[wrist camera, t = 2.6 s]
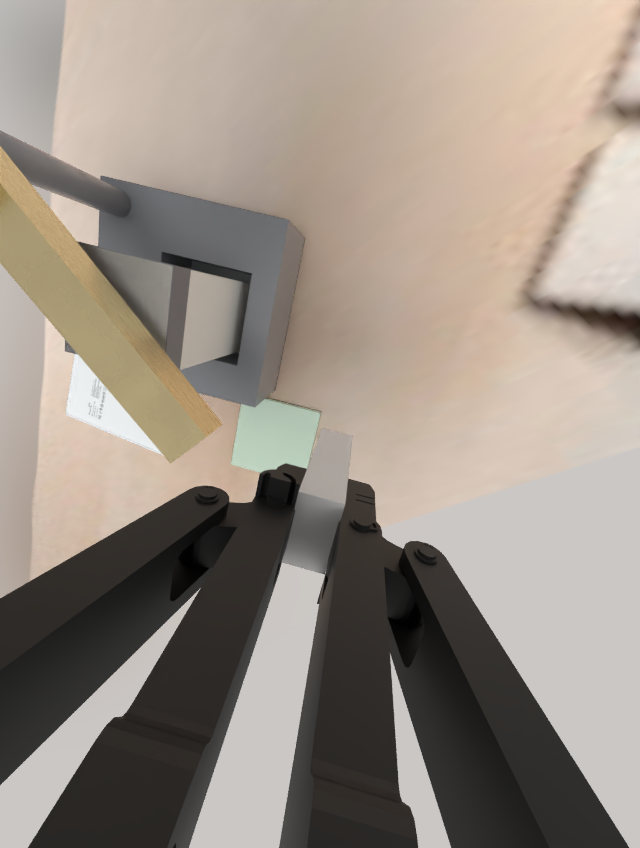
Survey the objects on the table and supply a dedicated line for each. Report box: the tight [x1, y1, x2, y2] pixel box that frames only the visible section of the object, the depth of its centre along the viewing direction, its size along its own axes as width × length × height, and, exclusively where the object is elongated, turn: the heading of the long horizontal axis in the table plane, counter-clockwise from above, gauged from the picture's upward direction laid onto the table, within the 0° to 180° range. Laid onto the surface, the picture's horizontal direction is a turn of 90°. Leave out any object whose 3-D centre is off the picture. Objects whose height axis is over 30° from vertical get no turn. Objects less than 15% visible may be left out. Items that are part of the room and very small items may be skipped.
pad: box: [231, 398, 321, 473], centre depth 38 cm, size 8×8×1 cm
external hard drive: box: [66, 354, 164, 456], centre depth 39 cm, size 2×8×12 cm
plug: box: [65, 242, 250, 370], centre depth 26 cm, size 6×6×15 cm
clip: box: [0, 146, 222, 463], centre depth 16 cm, size 19×4×4 cm, turn 36°
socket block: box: [0, 131, 305, 407], centre depth 25 cm, size 14×14×20 cm
